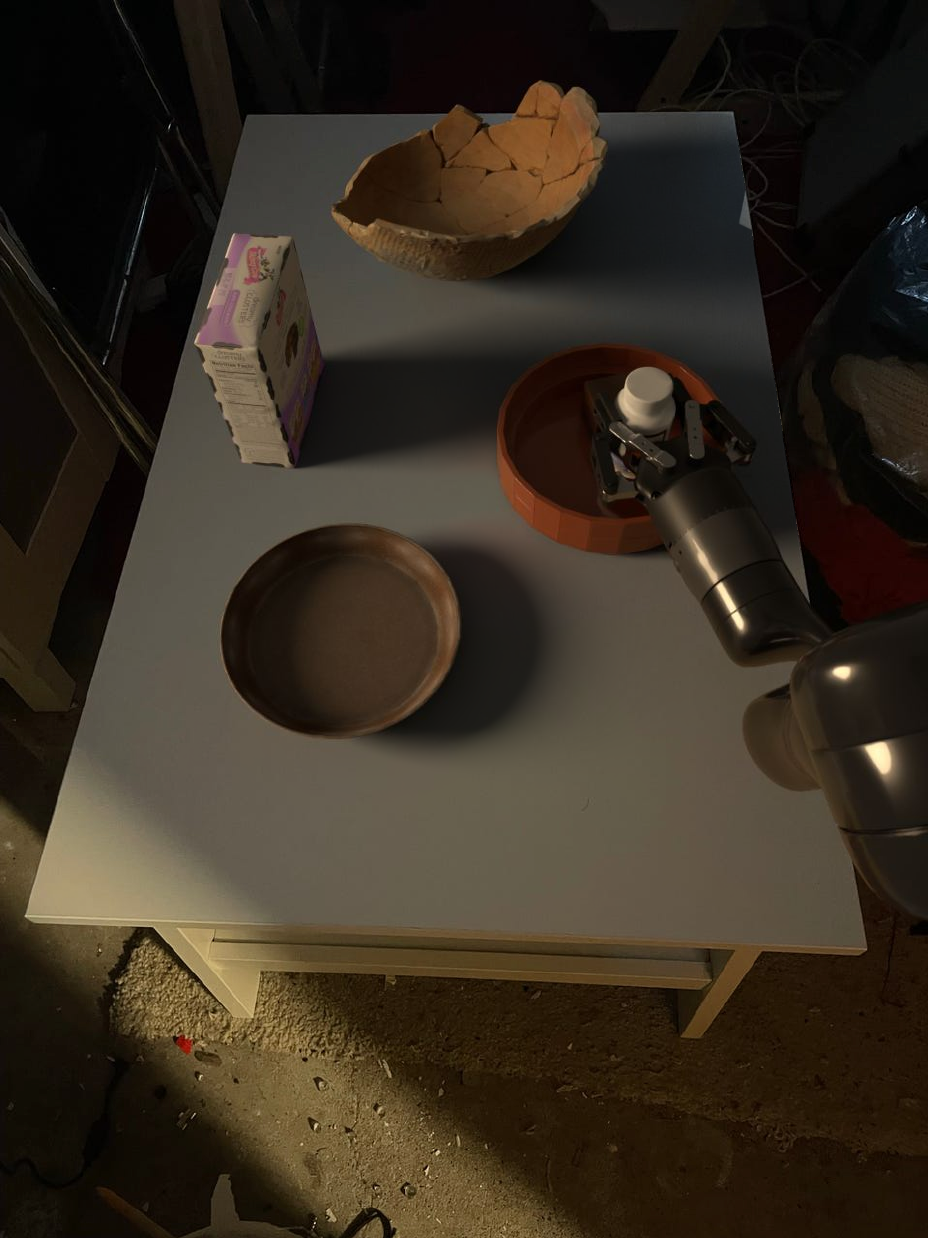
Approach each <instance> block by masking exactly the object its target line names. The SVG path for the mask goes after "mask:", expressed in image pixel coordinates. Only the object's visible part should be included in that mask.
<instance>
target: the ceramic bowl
mask: <svg viewBox="0 0 928 1238" xmlns="http://www.w3.org/2000/svg"><path fill="white" fill-rule="evenodd" d="M600 128H601V122H600V117H599V113H598V106H597V102H596V100H595V99H594V98H593V97H592V96H591V95H590V94H588V92H587V91H586V90H585V89H584V88H581V87H580V86H572V88H571V89H569V91H568V92H567V93H566V94H565V93H564V90H563V88H562V87H561V86H560V85H559V84H557V83H555V82H549V81H545V80H542V79H540V80H538V81H537V82H535V83H533V84H532V85H530V87H529V88H528V90H527V92H526V93H525V95H524V97H523V98H522V101H521V102H520V104H519V105H518V107H517V110H516V112H515V113H513V115H512V117H511V118H510V119H509V120H506V121H503V122H501V123H496V124H492V125H490V124H489V123H488V122H484V117H482V116H479V114H476V113H475V112H473V111H472V110H470V109H468V108H466V107H464V106H463V104H456V105H455V106H454V107H452V109H451V110H450V111H449V112H448V113H447V114H446V115H445V116H444V117H443V118H441V119H440V120H439V121H438V122H436V123H435V124H433V126H432V129H431V128H429V127H428V128H425V129H421V130H419V132H417V133H416V134H415V135H413V136H410V138H408V139H406V140H403V141H399V142H395V143H393V144H391V145H389V146H387V148H385V149H383V150H380V151H378V152H376V153H373V154H370V155H369V156H368V157H366V158H364V160H363V162H362V163H361V164H360V165H359V168H358V169H357V171H356V172H355V173H354V174H352V177H351V178H350V180H349V181H348V183H347V185H346V187H345V195H344V196H343V197H342V198H341V199H339V200H337V201H336V202H335V203H331V216H332V218H333V219H334V221H335V222H336V223H337V224H338V225H339V227H341V229H342V230H343V231H344V232H345V234H347V235H348V236H349V237H350V238H351V239H352V240H353V241H354V242H355V243H356V244H357V245H358V246H360V247H361V248H362V249H364V250H365V251H367V252H368V253H369V254H370V255H372V256H373V257H375V258H376V259H377V260H378V261H379V262H381V263H385V264H387V265H388V266H391V267H393V268H395V269H397V270H400V271H402V272H406V273H409V274H412V275H415V276H418V277H423V278H425V279H431V280H438V281H444V282H464V281H465V282H466V281H475V280H482V279H486V278H489V277H493V276H496V275H499V274H500V273H503V272H505V271H508V270H511V269H514V268H515V267H516V266H518V265H520V264H522V263H524V262H525V261H527V260H528V259H530V258H532V257H533V256H535V255H536V254H538V253H539V252H540V251H542V250H543V249H544V248H545V247H546V246H547V245H548V244H550V243H551V242H552V241H553V240H554V239H555V238H556V237H557V236H558V235H559V234H560V233H561V232H562V231H563V230H564V229H565V228H566V227H567V225H568V224H569V223H570V221H571V220H572V219H573V217H574V216H575V214H576V213H577V211H578V209H579V208H580V206H581V204H582V203H583V202H584V201H585V200H586V199H587V198H588V196H589V195H590V194H591V192H592V191H593V190H594V188H595V187H596V184H597V180H598V177H599V175H600V173H601V171H602V170H603V169H604V167H605V166H606V164H607V162H606V158H607V156H608V153H609V151H610V148H609V143H608V141H607V140H606V139H605V138H603V137H602V136H599V134H600Z"/></svg>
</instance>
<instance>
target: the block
mask: <svg viewBox="0 0 928 1238" xmlns="http://www.w3.org/2000/svg"><path fill="white" fill-rule="evenodd" d="M629 374H630V373H629V372H628V373H623V374H618V375H613V376H608V377H603V378H599V379H594V380H589V381H585V384H584V392H583V400H582V407H581V414H582V417H583V419H584V422H585V425H586V427H587V430H588V432H589V435H590V438H591V440H592V437H593V435H594V434H595V433H602V431H601V429H600V427H599V425H598V423H597V422H596V420H595V418H594V416H593V408H594V401H595V400H596V399H597V393H598V392H602V391H605V390H606V391H607V392H608V394H609V396H610V398H611V400H612V401H613V403H614V401H615V399H616V397H617V395H618V394H619V392H620V391H621V390H622V389H624V387H625V383H626V379H627V377H628V376H629Z"/></svg>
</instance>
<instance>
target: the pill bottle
mask: <svg viewBox="0 0 928 1238" xmlns="http://www.w3.org/2000/svg"><path fill="white" fill-rule="evenodd" d="M672 391H673V382H672V379H671V377H670V376H669V375H668V374H667V373H666V372H664V371H662V370H660V369H658V368H654V367H642V368H639V369H636V370H634V371H633V372H631V373H630V374H629V376H628V377H627V379H626V383H625V387H624V389H622V390H621V391H620V392H619V394H618V395H617V397H616V399H615V401H614V405H615V407H616V409H617V411H618V412H619V414H620V416H621V418H622V422H621V423H622V424H623V425H624V426H625V427H627V428H628V429H629V430H631V431H632V432H633V433H634V434H638V433H640V434H641V435H643V436H644V437H645V438H647V439H648V440H649V441H650V442H652V443H653V442H657V441H667V440H669V437H670V433H671V429H672V425H673V422H674V418H675V412H676V405H675V402H674V399H673V397H672ZM611 455H612V459H613V463H614V467H615V471H621V473H622V474H623V475H624V477H626V478H630V479H635V477H636V475H634V474H633V473H632V472H631V471H629V470H628V469H627V468H626V467H625V466H624V464H623V461H622V460H621V459H620V458H619V457H617V456H616V455H615V454H614V453H612V452H611ZM640 458H641V454H640Z"/></svg>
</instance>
